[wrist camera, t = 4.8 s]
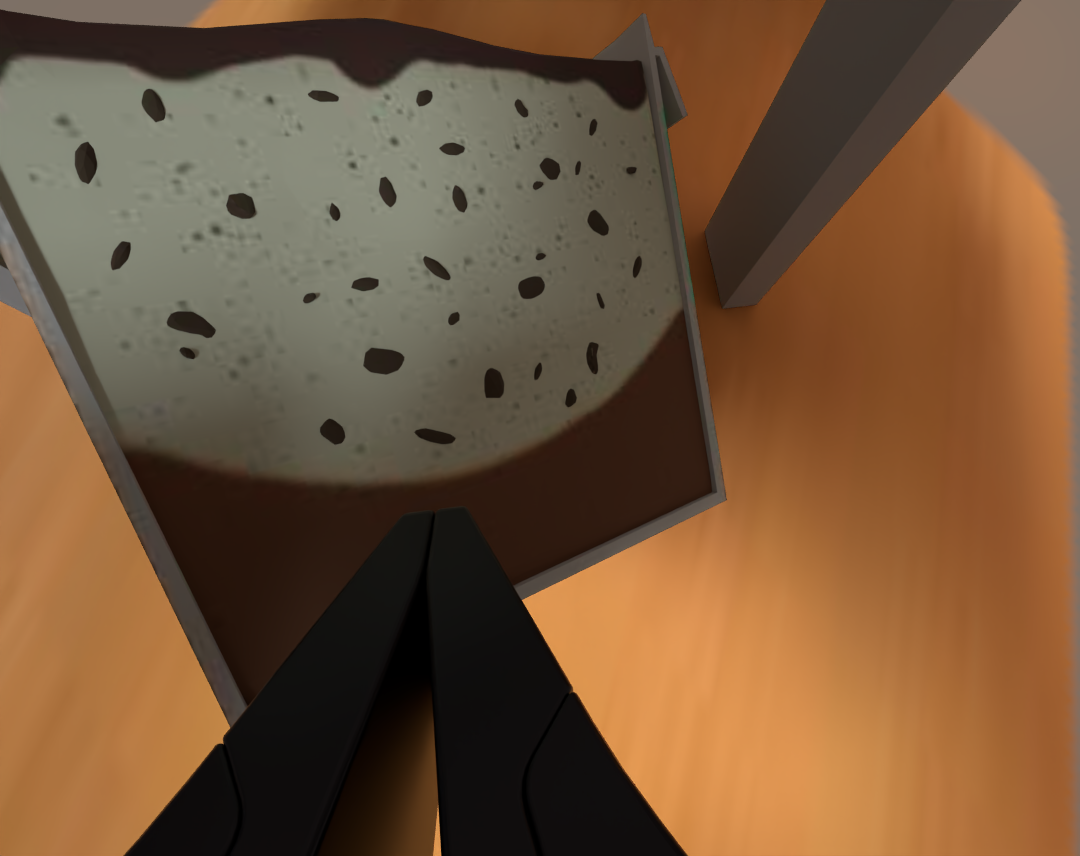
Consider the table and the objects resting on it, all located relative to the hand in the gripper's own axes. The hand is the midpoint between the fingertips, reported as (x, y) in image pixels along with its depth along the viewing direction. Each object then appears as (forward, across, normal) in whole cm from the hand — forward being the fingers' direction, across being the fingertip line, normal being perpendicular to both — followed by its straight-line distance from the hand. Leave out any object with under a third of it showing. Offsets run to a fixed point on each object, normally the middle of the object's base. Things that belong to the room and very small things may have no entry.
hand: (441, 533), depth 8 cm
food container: (+3, 0, +4) cm, 5 cm away
